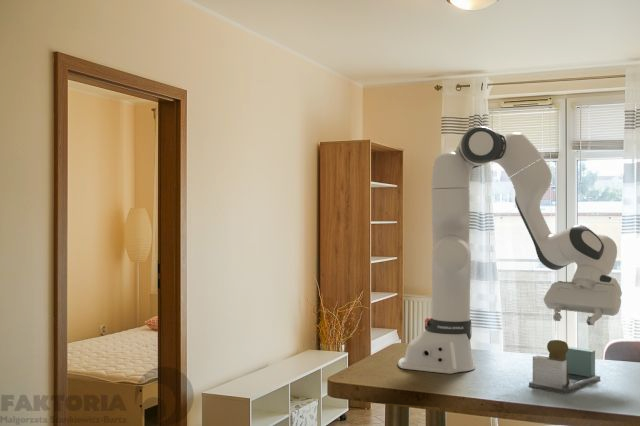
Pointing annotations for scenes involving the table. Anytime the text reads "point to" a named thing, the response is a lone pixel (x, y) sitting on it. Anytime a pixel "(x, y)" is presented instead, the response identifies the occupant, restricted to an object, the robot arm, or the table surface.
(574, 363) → the block
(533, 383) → the vise base
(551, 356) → the cork
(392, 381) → the table surface
